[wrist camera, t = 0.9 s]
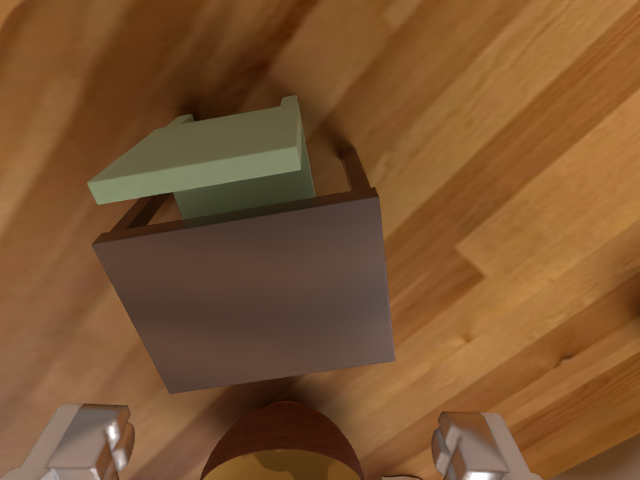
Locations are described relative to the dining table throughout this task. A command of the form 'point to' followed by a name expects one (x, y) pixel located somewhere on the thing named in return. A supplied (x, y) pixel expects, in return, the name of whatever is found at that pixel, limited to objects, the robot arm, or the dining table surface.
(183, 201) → the chair
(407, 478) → the paper towel roll
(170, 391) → the toy table
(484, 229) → the dining table surface
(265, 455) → the bowl
